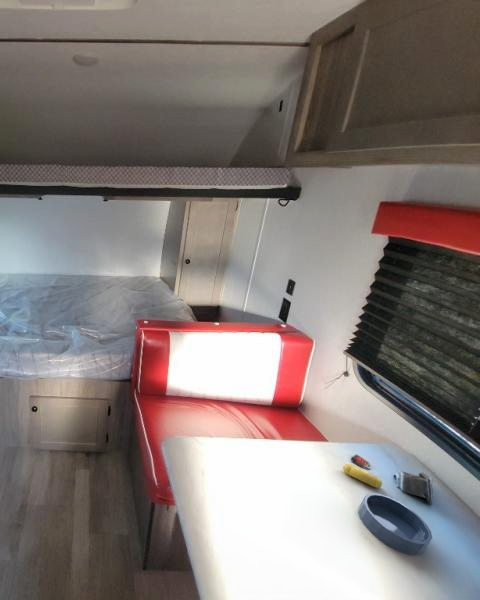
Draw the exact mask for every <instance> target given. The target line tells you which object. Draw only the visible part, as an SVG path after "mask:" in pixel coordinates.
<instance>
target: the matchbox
mask: <svg viewBox="0 0 480 600" xmlns="http://www.w3.org/2000/svg"><path fill="white" fill-rule="evenodd" d="M350 460H351V461H352V462H353V463H354V464H357V465H358V466H360V467H361V468H366V467H367V465H368V466H370V465H369V464H371V462H370V461H368V460H367V459H365V458H364V457H362V456H361V455H359V454H357V453H356V454H354V455H353V456H351V458H350ZM367 470H370V469H369V468H368V469H367Z"/></svg>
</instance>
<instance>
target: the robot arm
mask: <svg viewBox="0 0 480 600" xmlns="http://www.w3.org/2000/svg"><path fill="white" fill-rule="evenodd" d="M468 433H469V435H472V436H473V437H477V438H479V439H480V415H478V419H477V420H476V421H475V422H474V424H473V425H472V426H471V428H470V430H469V431H468Z"/></svg>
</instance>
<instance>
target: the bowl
mask: <svg viewBox="0 0 480 600" xmlns="http://www.w3.org/2000/svg"><path fill="white" fill-rule="evenodd" d="M357 513H358V516H359V519H360V521H361V523H362V524H363V525H364V526H365V527H366V529H367V530H368V531H369V532H370V533H371V534H372V535H373V536H374V537H375V538H377V539H378V540H379V541H380V542H382V543H383V544H385V545H387V546H388V547H389V548H391V549H392V550H393V549H394V550H395V551H398V552H400V553H402V554H406V555H410V556H419V555H421V554H423V553H424V552H425V551H426V549H427V548H428V546H429V545H430V544H431V543H432V540H433V534H432V531H431V529H430V528H429V526H428V524H427V523H426V522H425V520H423V519H422V518H421V516H419V515H418V514H417V513H416V512H415V511H414V510H413V509H411V508H410V507H408V506H407V505H406V504H403V503H402V502H400V501H399V500H397V499H394V498H393V497H391V496H387V495H384V494H382V493H377V492H376V493H375V492H372V493H367V494H365V496H364V497H363V499H362V501H361V502H360V504H359V506H358V508H357Z"/></svg>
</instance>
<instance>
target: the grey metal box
mask: <svg viewBox="0 0 480 600" xmlns="http://www.w3.org/2000/svg"><path fill="white" fill-rule="evenodd" d="M395 472H396V474H393V478H395V479H396V482H395V483H396V486H397V488H399V489H400V490H401V492H403V493H406V494H410V495H413V496H416V497H417V496H418V497H420V498H424V499H426V502H427V503H429V504H430V505H432V506H433V503H434V487H433V483H434V482H433V481H434V479H433V478H432V477H431V476H430V475H428V474H427V473H426V472H425V471H422V472H419V473H418V475H416V474H412V473H408V472H405V471H402V470H396V471H395Z"/></svg>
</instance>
